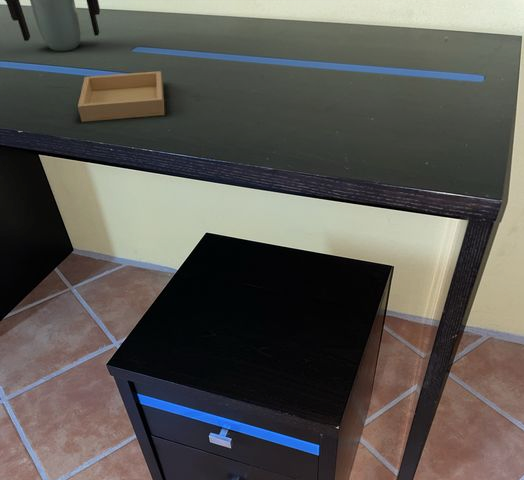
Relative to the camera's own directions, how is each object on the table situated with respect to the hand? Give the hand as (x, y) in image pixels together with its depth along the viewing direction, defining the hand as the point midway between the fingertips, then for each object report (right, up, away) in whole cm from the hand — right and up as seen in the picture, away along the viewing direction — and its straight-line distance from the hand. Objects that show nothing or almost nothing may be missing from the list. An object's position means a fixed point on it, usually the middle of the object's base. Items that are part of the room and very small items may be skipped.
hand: (62, 36), depth 104 cm
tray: (+18, -23, -19) cm, 35 cm away
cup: (0, -2, +2) cm, 2 cm away
